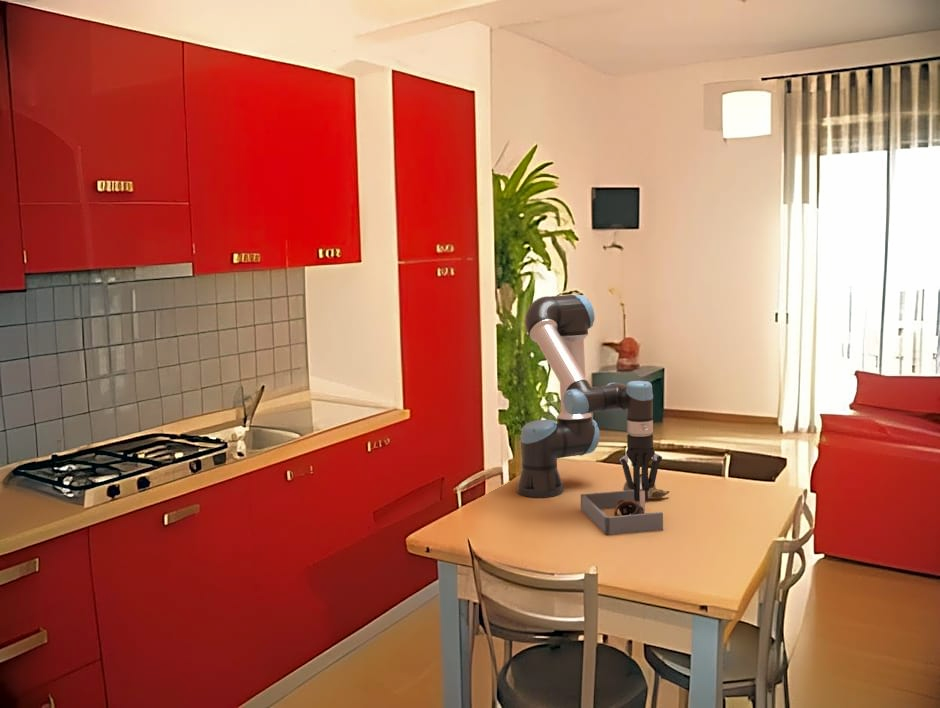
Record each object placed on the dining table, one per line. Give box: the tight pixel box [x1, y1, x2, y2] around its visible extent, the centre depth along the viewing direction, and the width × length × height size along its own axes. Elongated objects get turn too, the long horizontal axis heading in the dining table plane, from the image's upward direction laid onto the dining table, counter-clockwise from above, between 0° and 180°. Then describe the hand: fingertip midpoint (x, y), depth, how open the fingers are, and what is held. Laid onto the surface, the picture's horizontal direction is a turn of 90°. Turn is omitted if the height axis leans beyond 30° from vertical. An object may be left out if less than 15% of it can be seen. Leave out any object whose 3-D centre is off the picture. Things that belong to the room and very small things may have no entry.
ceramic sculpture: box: [622, 473, 670, 503], centre depth 278 cm, size 11×9×15 cm
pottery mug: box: [613, 500, 646, 516], centre depth 256 cm, size 12×10×8 cm
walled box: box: [580, 490, 664, 536], centre depth 260 cm, size 24×17×5 cm
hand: (641, 511), depth 260 cm, fingers closed
